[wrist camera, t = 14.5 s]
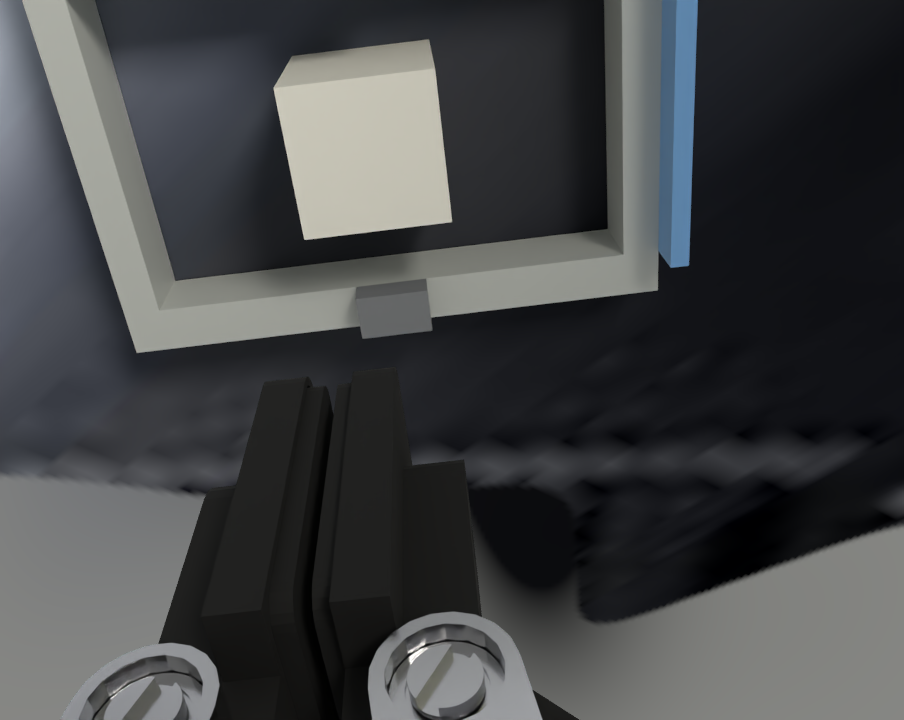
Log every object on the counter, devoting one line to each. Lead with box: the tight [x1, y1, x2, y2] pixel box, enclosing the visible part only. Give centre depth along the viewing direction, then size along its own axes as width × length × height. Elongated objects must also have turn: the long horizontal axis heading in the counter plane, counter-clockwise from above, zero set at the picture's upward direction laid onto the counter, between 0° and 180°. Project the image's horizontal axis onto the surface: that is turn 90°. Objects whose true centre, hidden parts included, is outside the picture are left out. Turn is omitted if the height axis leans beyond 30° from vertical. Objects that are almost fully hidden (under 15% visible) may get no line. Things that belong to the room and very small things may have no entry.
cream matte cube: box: [273, 39, 452, 240], centre depth 27 cm, size 4×4×5 cm
